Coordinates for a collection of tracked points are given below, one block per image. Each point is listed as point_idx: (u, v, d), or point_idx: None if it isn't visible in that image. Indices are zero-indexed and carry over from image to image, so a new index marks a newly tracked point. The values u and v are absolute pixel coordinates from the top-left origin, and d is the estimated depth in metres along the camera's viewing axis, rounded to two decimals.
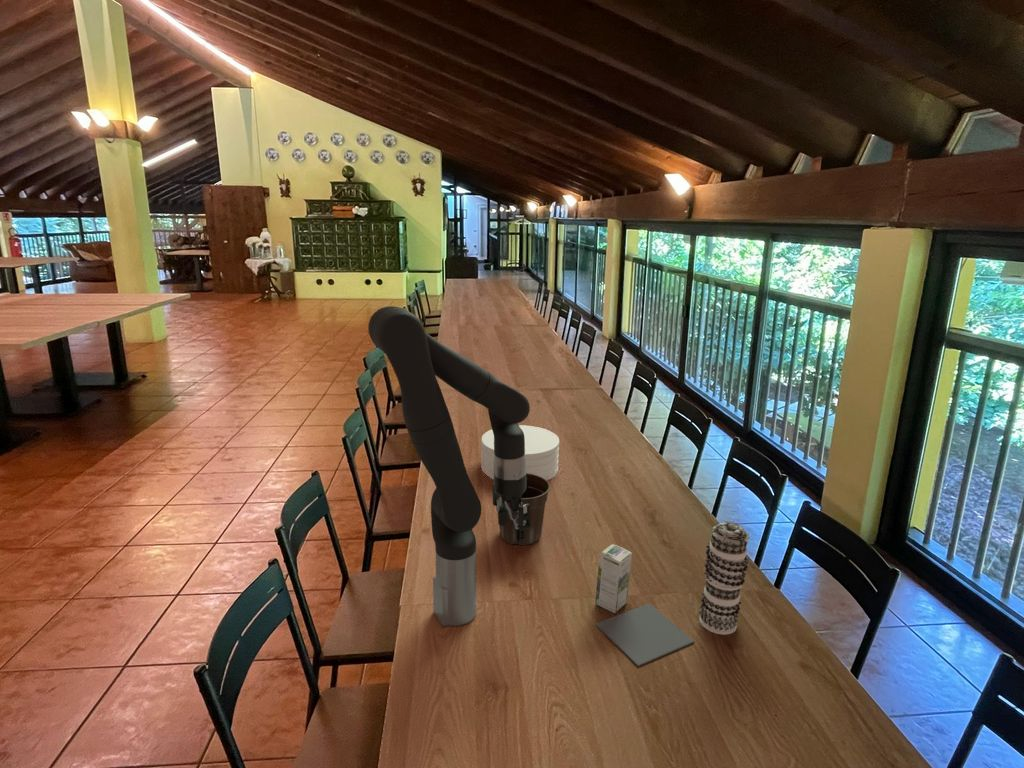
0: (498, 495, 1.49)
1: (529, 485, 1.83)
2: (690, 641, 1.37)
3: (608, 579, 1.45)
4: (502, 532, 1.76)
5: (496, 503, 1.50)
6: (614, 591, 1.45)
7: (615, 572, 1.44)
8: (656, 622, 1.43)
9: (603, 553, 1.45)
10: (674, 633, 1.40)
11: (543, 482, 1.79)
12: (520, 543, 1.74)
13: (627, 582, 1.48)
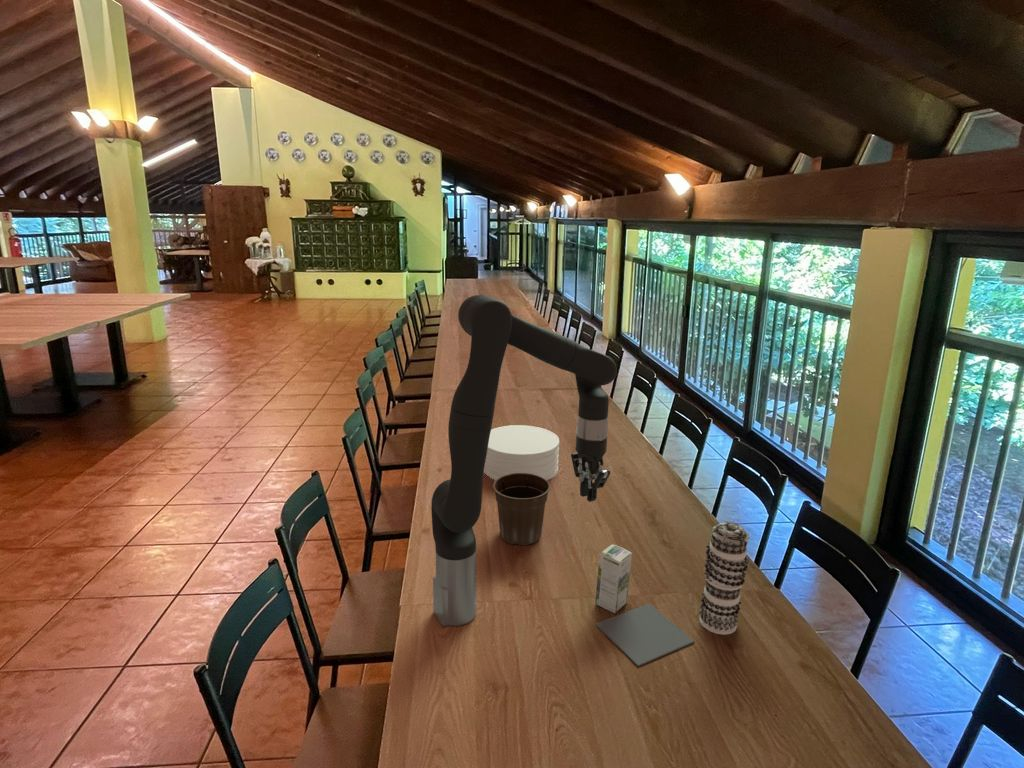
0: (578, 464, 1.55)
1: (529, 485, 1.83)
2: (690, 641, 1.37)
3: (608, 579, 1.45)
4: (502, 532, 1.76)
5: (578, 473, 1.54)
6: (614, 591, 1.45)
7: (615, 572, 1.44)
8: (656, 622, 1.43)
9: (603, 553, 1.45)
10: (674, 633, 1.40)
11: (543, 482, 1.79)
12: (520, 543, 1.74)
13: (627, 582, 1.48)
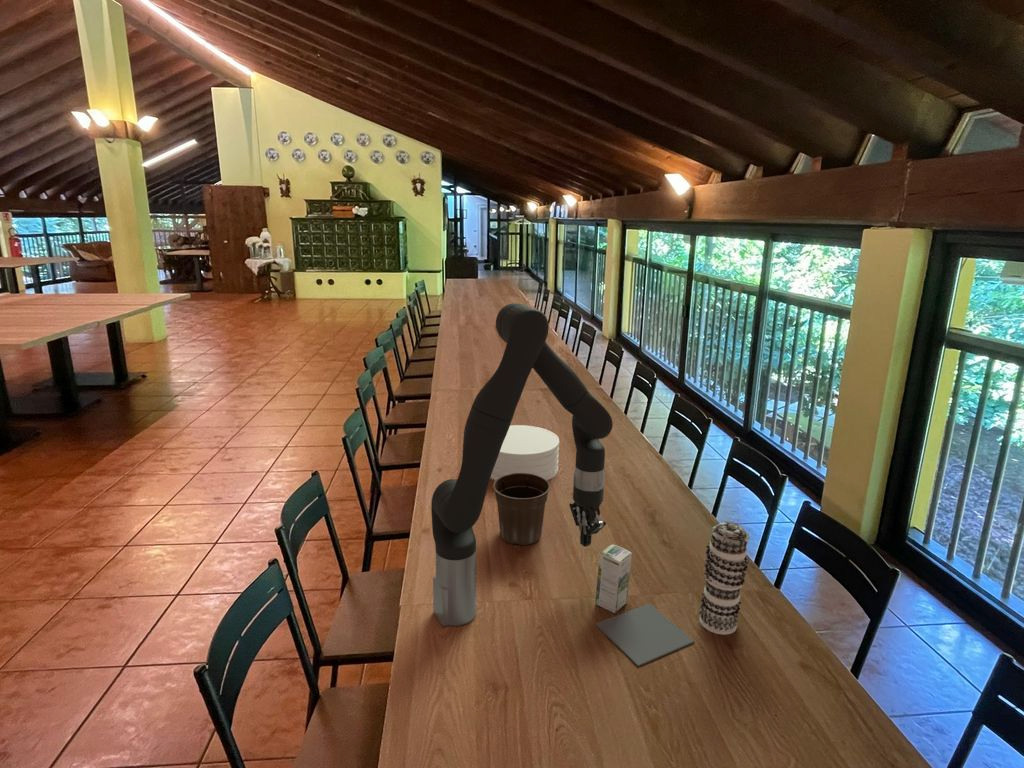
0: (577, 513, 1.58)
1: (529, 485, 1.83)
2: (690, 641, 1.37)
3: (608, 579, 1.45)
4: (502, 532, 1.76)
5: (578, 522, 1.57)
6: (614, 591, 1.45)
7: (615, 572, 1.44)
8: (656, 622, 1.43)
9: (603, 553, 1.45)
10: (674, 633, 1.40)
11: (543, 482, 1.79)
12: (520, 543, 1.74)
13: (627, 582, 1.48)
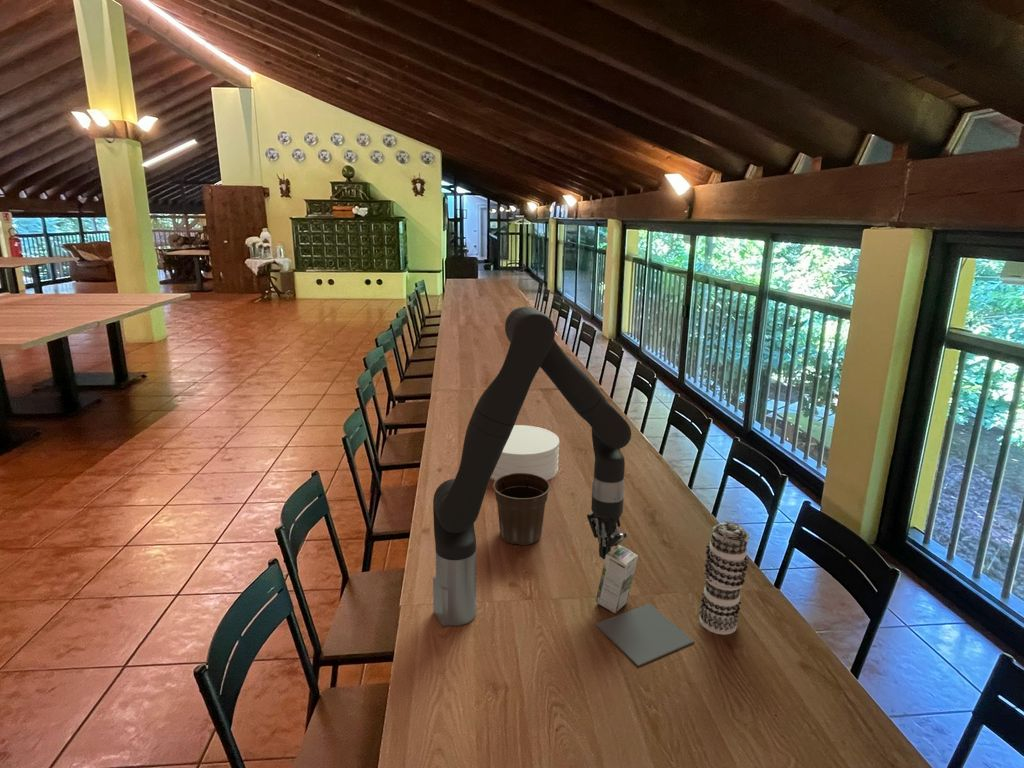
0: (596, 524, 1.52)
1: (529, 485, 1.83)
2: (690, 641, 1.37)
3: (612, 580, 1.45)
4: (502, 532, 1.76)
5: (597, 533, 1.51)
6: (617, 592, 1.44)
7: (620, 574, 1.43)
8: (656, 622, 1.43)
9: (609, 554, 1.44)
10: (674, 633, 1.40)
11: (543, 482, 1.79)
12: (520, 543, 1.74)
13: (630, 584, 1.47)
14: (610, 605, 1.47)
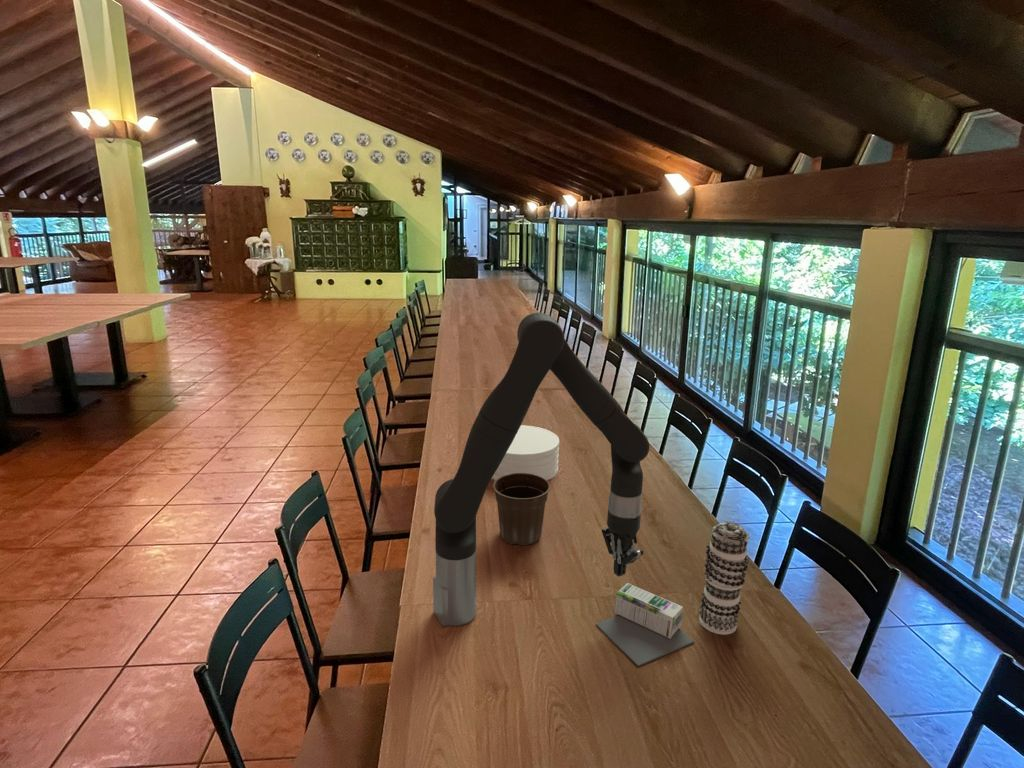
0: (611, 540, 1.46)
1: (529, 485, 1.83)
2: (690, 641, 1.37)
3: (647, 618, 1.40)
4: (502, 532, 1.76)
5: (612, 549, 1.46)
6: (637, 621, 1.42)
7: (658, 629, 1.39)
8: None
9: (673, 620, 1.36)
10: (674, 633, 1.40)
11: (543, 482, 1.79)
12: (520, 543, 1.74)
13: None
14: (620, 609, 1.44)
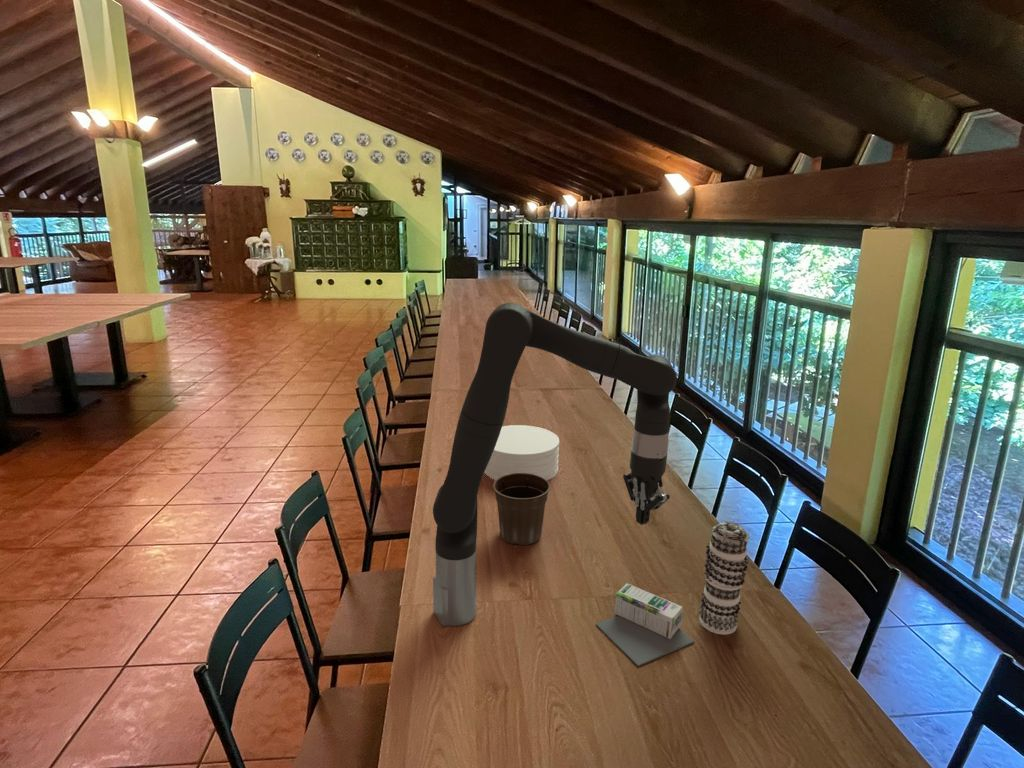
0: (633, 486, 1.36)
1: (529, 485, 1.83)
2: (690, 641, 1.37)
3: (647, 619, 1.40)
4: (502, 532, 1.76)
5: (634, 496, 1.35)
6: (636, 621, 1.42)
7: (657, 629, 1.39)
8: None
9: (673, 620, 1.36)
10: (674, 633, 1.40)
11: (543, 482, 1.79)
12: (520, 543, 1.74)
13: None
14: (620, 610, 1.44)
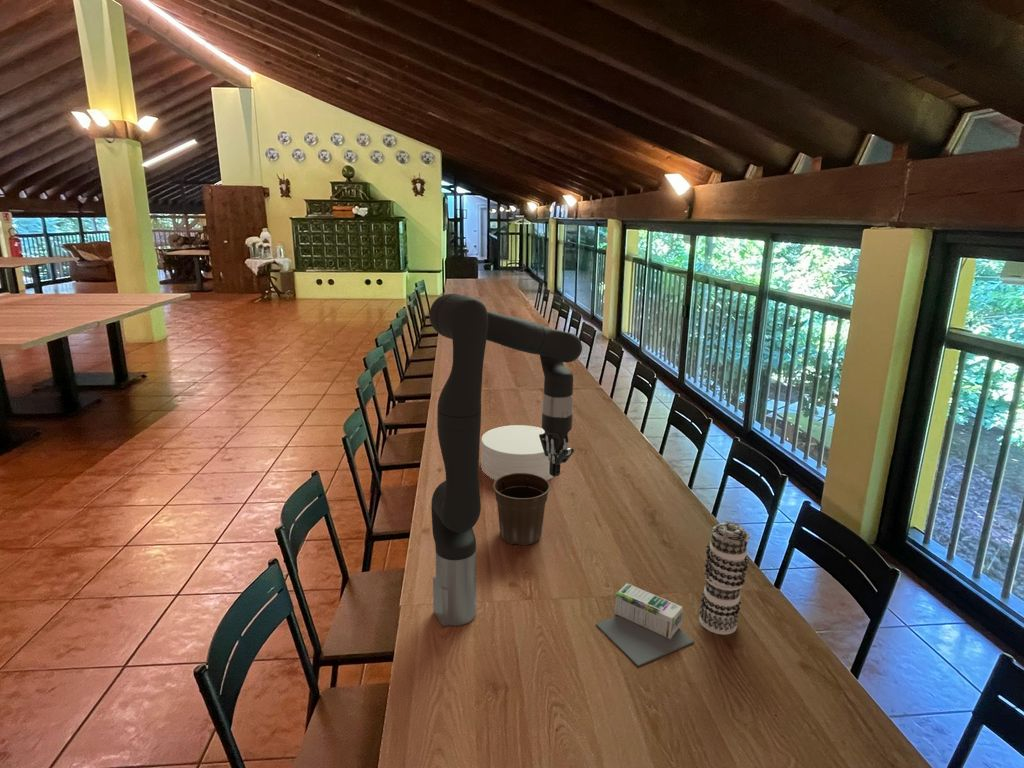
0: (547, 444, 1.57)
1: (529, 485, 1.83)
2: (690, 641, 1.37)
3: (647, 619, 1.40)
4: (502, 532, 1.76)
5: (548, 452, 1.56)
6: (636, 621, 1.42)
7: (657, 629, 1.39)
8: None
9: (673, 620, 1.36)
10: (674, 633, 1.40)
11: (543, 482, 1.79)
12: (520, 543, 1.74)
13: None
14: (620, 610, 1.44)
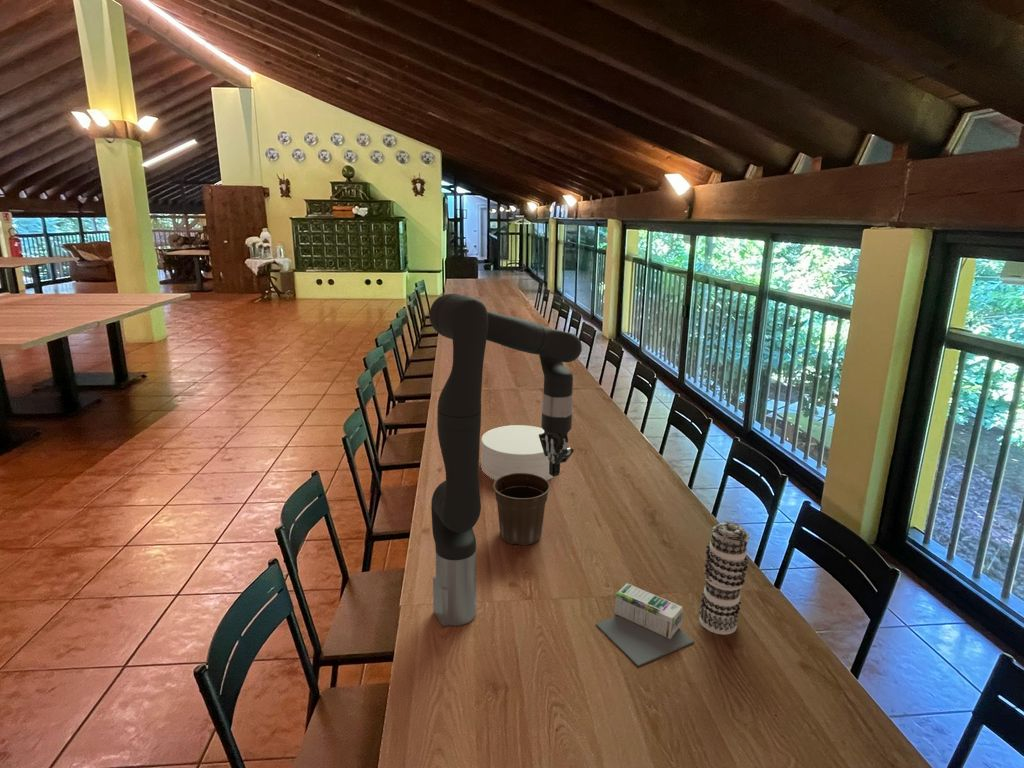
0: None
1: (529, 485, 1.83)
2: (690, 641, 1.37)
3: (647, 619, 1.40)
4: (502, 532, 1.76)
5: (547, 452, 1.57)
6: (636, 621, 1.42)
7: (657, 629, 1.39)
8: None
9: (673, 620, 1.36)
10: (674, 633, 1.40)
11: (543, 482, 1.79)
12: (520, 543, 1.74)
13: None
14: (620, 610, 1.44)
